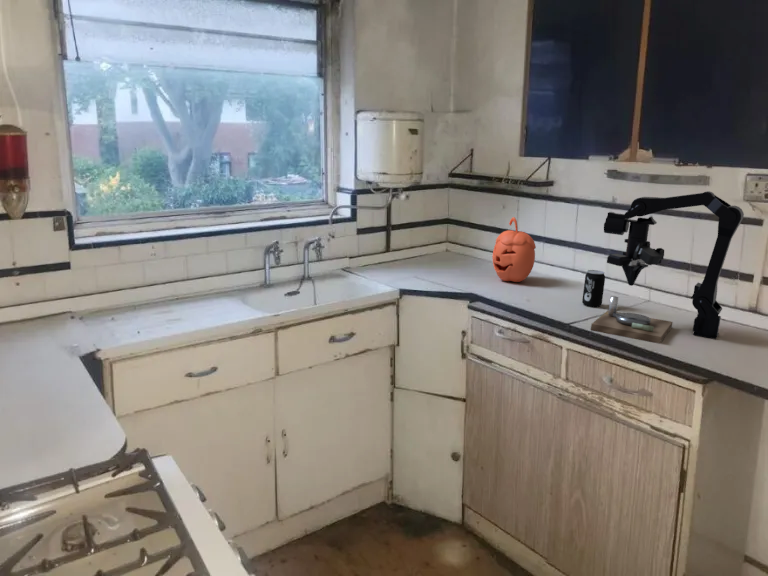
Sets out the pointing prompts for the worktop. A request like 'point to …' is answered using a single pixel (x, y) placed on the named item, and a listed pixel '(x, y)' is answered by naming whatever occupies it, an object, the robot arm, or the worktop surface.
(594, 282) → the beverage can
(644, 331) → the base plate
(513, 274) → the jack-o'-lantern
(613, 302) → the silver curved piece
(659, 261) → the robot arm
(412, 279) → the worktop surface
